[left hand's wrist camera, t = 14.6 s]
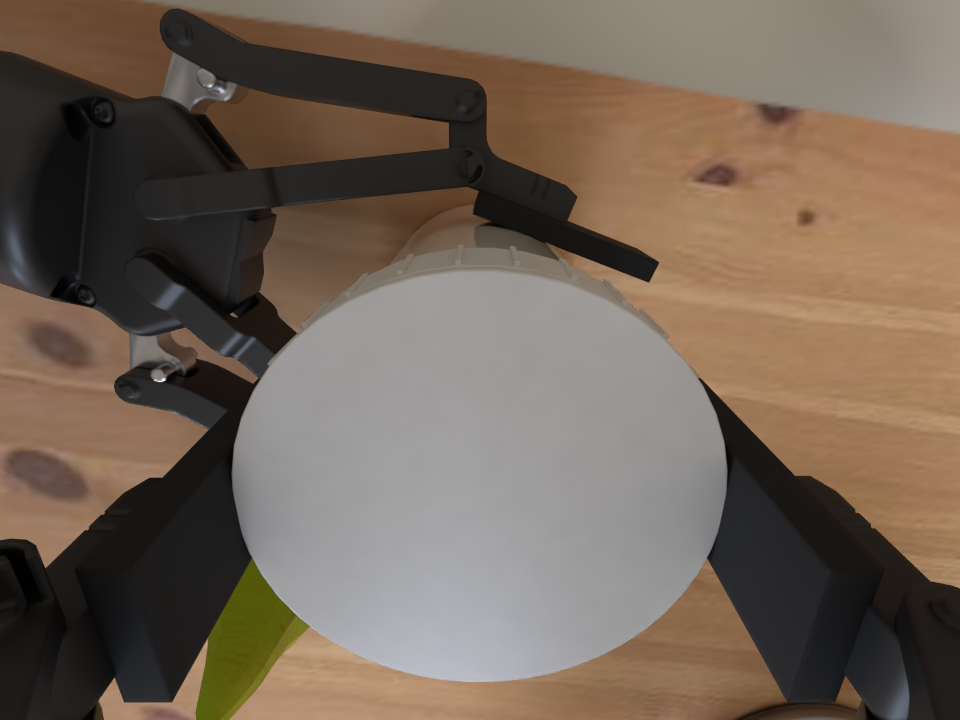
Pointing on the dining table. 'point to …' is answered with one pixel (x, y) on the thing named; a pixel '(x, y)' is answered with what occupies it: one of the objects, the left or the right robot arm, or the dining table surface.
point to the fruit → (245, 645)
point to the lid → (479, 468)
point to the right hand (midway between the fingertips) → (587, 375)
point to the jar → (470, 236)
